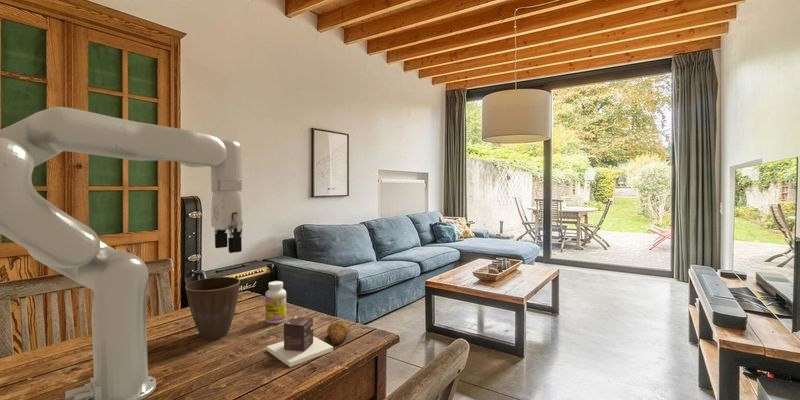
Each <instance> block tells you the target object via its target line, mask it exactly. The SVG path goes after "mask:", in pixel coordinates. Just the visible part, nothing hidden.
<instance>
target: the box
mask: <svg viewBox="0 0 800 400" xmlns="http://www.w3.org/2000/svg"><path fill="white" fill-rule="evenodd" d="M313 336H314V318H313V317H307V316H306V317H305V316H293V317H292V318H290V319H288V320H287V321H285V322H284V323H283V341H284V350H293V351H305V350H306V349H307V348H309V347H310V346H311V345H312V344H313Z"/></svg>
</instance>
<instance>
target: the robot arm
mask: <svg viewBox="0 0 800 400" xmlns="http://www.w3.org/2000/svg"><path fill="white" fill-rule="evenodd" d="M62 152H70V153H71V152H72V153H78V154H85V155H93V156H94V155H95V156H101V157H108V158H115V159H123V160H129V161H139V162H141V161H142V162H145V161H146V162H151V161H164V162H165V161H168V162H169V161H170V162H178V163H179V164H181V165H182V166H184V167H188V168H209V167H210V179H211V180H210V183H211V184H210V185H211V186H210V187H211V188H210V189H211V191H210V192H211V193H212V198H211V211H210V213H211V215H210V219H211V220H210V225H211V227H212V228H213V229H214V248H216V249H222V248H228V253H229V254H234V253H240V252H242V250H243V246H242V243H243V242H242V236H243V233H242V232H243V223H244V222H243V212H242V211H243V209H242V200H241V193H242V192H243V181H242V180H243V179H242V178H243V177H242V170H243V169H242V145H241V144H240V142H238V141H236V140H229V139H226V140H225V139H220V138H218V137H217V136H214V135H211V134H208V133H203V132H199V131H194V130H189V129H183V128H178V127H170V126H165V125H164V126H163V125H159V124H153V123H147V122H139V121H134V120H131V119H130V120H129V119H123V118H120V117H119V118H118V117H113V116H109V115H105V114H101V113H97V112H91V111H86V110H83V109H82V110H81V109H77V108H73V107H67V106H66V107H65V106H55V107H50V108H49V107H48V108H46V109H43V110H40V111H37V112H35V113H33V114H31V115H29V116H27V117H25V118H23V119H21V120H19V121H17V122H14V123H12V124H11V125H8V126H6V127H4V128H2V129H0V234H1V235H2V236H3V237H6V238H7V239H9V240H11V242H14V243H15V244H17V245H19V246H21V247H22V248H24V249H25V250H26V251H27V252H28V253H27V254H29V255H30V256H31V257H32V259H34V260H36V261H38V262H39V263H41V264H43V265H45V266H46V267H48V268H50V269H52V270H54V271H55V272H57V273H59V274H61V275H62V276H64V277H66V278H69V279H70V280H72V281H74V282H76V283H78V284H79V285H82V286H83V287H85V288H87V289H90V290H92V291H93V301H92V307H91V308H92V309H91V322H90V323H91V324H90V325H91V335H92V336H91V337H92V340H91V341H92V358H93V359H92V361H93V362H92V363H93V365H92V366H93V377H90V382H88V383H84V386H80V387H75V388H73V389H69V390H68V389H67V390H65V395H64V396H65V400H144V399H146V398H147V397H148V396H150V395H151V394H152V393H153V392H154V391H155V390H156V388H157V380H156V378H155V377H153V376H151V375H149V367H148V366H149V365H148V337H147V336H148V335H147V334H148V333H147V331H148V330H147V313H146V312H147V307H146V306H147V295H148V294H147V292H148V286H149V279H150V278H149V275H150V274H149V269H148V267H147V265H146V263H145V261H144V260H142V259H141V257H140V256H137V255H136V254H134V253H131V252H127V251H123V250H121V249H120V250H119V249H115V248H113V247H112V246H110V245H108V244H106V243H105V242H103V241H102V240H101V239H100V238H99V236H98V234H97V233H96V231H94V229H92V228H91V227H90V226H88V225H86V224H85V223H82V222H81V221H79V220H78V219H76V218H74V217H73V216H71V215H69V214H68V213H66V212H65V211H64V210H61V209H60V208H58V207H57V206H55V205H54V204H53V203H52V202H50V201H49V200H47V199H46V198H44V197H43V196H42V195H41V194H40V193H39V192H38V191H37V189H36V188H35V187H34V185H33V180H32V176H33V172H34V169H35V167H37V166H39V165H41V164H43V163H45V162H47V161H48V160H50V159H52V158H54V157H55V156H58V155H59V154H61V153H62ZM228 235H229V236H228Z"/></svg>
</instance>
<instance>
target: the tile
mask: <svg viewBox="0 0 800 400" xmlns="http://www.w3.org/2000/svg"><path fill="white" fill-rule="evenodd" d="M266 351H267V352H268V353H270V354H271V355H272V356H274V357H275V358H277V359H278V360H280V361H281V362H282V363H283V364H285V365H287V366H288V367H290V368H292V367H294V366H297V365H299V364H304V363H305V362H308V361H311V360H314V359H316V358H317V357H321V356H323V355H326V354H328V353H332V352H334V346H332V345H331V344H329V343H327V342H326V341H324V340H321V339H320V338H318V337H316V336H315V335H313V344H312V345H311V346H310V347H309V348H307V349H306V350H305V351H293V350H284V340H283V341H279V342H276V343H273V344H270V345H266Z"/></svg>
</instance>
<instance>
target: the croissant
mask: <svg viewBox="0 0 800 400" xmlns="http://www.w3.org/2000/svg"><path fill="white" fill-rule="evenodd" d="M349 332H350V328H349V326H348V324H347V322H345V321H340V320H337V321H334V322H331V323H330V324H329V325H328V327H327V334H328V335H329V336H328V337H329V339H330V340H331V342H332V343H333V345H336V346H337V345H340V344H342V343H343V342H344V340H345V338H346V337H347V334H349Z"/></svg>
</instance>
